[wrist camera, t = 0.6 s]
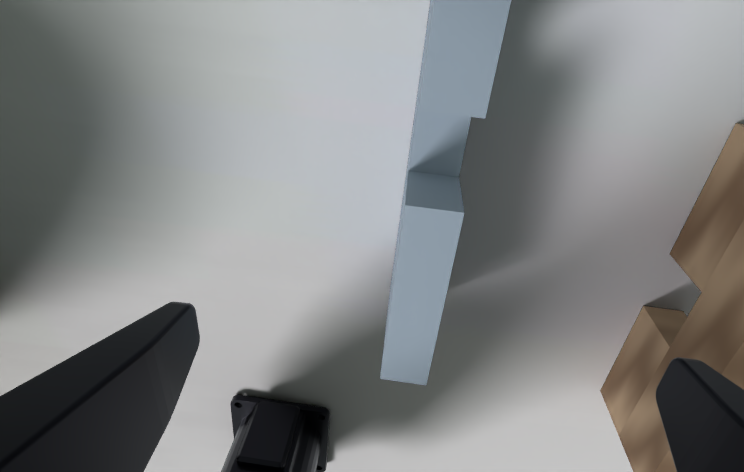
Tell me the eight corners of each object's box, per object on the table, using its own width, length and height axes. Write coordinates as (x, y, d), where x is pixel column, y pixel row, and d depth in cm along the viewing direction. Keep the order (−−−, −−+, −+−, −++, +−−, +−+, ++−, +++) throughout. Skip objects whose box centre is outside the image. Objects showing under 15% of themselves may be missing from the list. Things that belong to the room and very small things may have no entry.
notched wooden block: (634, 395, 27) (684, 497, 22) (600, 390, 27) (641, 490, 22) (786, 129, 19) (922, 191, 14) (735, 122, 19) (852, 182, 14)
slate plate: (426, 298, 25) (426, 385, 20) (389, 293, 25) (379, 378, 20) (522, -198, 15) (574, -285, 9) (459, -203, 15) (476, -293, 10)
